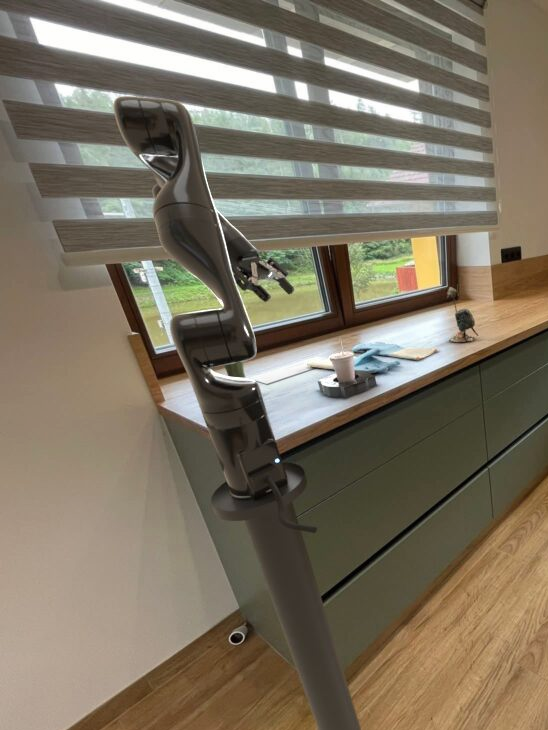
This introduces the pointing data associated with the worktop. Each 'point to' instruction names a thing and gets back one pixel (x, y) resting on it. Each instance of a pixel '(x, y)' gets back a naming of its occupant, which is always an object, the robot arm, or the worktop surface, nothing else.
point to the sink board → (347, 384)
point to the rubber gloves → (374, 364)
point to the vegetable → (235, 370)
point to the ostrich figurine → (462, 321)
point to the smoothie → (343, 365)
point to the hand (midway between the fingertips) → (280, 295)
